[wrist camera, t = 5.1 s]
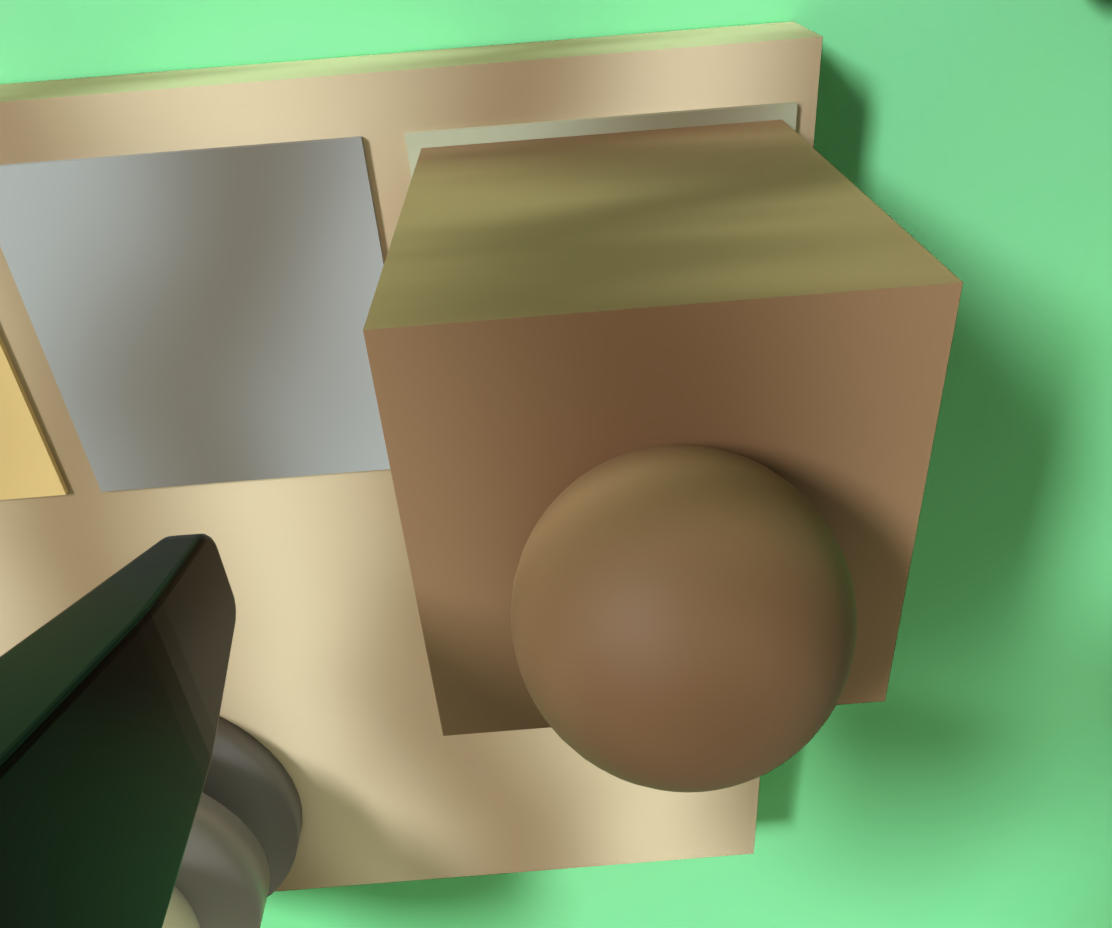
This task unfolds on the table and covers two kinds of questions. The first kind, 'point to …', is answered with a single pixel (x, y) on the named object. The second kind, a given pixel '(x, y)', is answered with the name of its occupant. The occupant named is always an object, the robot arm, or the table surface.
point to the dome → (219, 874)
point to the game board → (307, 418)
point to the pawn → (657, 439)
